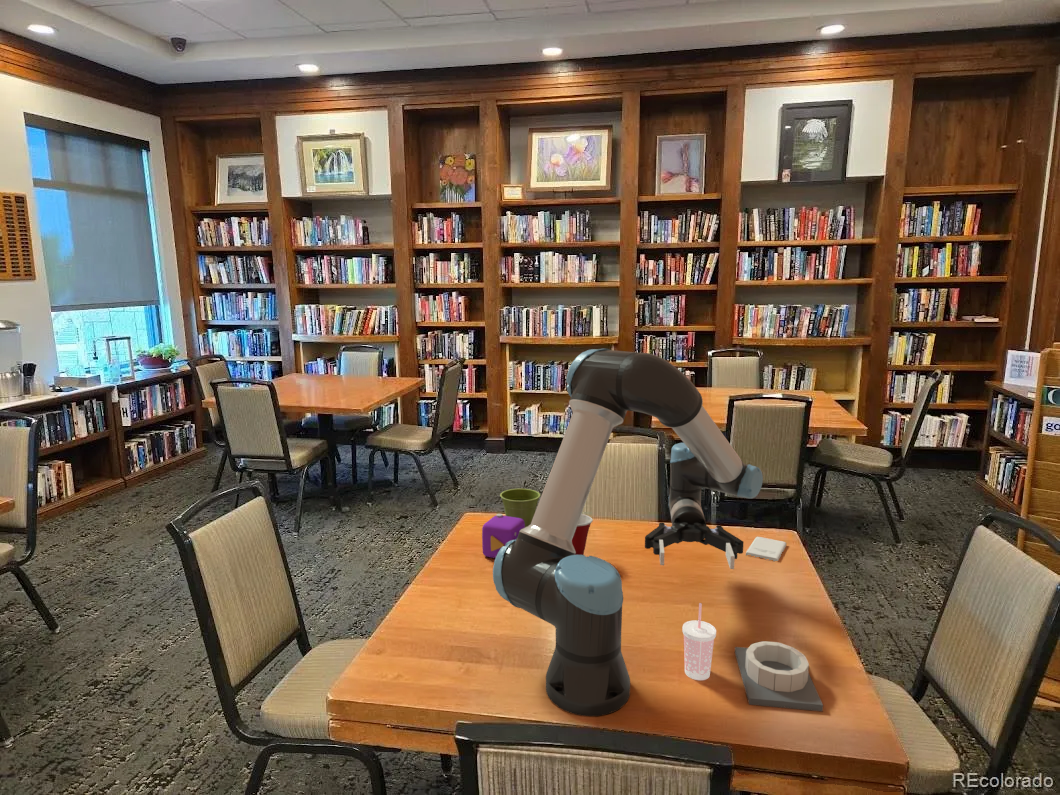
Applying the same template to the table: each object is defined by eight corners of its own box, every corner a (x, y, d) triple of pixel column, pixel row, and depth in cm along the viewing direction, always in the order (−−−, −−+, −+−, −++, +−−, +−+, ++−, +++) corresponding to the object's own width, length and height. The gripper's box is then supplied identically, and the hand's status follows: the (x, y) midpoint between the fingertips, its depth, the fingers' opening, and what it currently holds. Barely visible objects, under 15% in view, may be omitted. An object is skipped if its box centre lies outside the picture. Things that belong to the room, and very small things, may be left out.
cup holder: (749, 704, 110) (750, 680, 109) (734, 652, 125) (736, 631, 125) (822, 711, 108) (824, 687, 107) (798, 657, 124) (800, 636, 123)
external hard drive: (786, 547, 177) (777, 564, 166) (755, 541, 181) (745, 557, 170) (786, 542, 176) (777, 558, 166) (756, 536, 181) (745, 551, 170)
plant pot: (545, 536, 184) (544, 499, 182) (505, 540, 181) (504, 502, 179) (534, 521, 195) (534, 486, 193) (497, 525, 192) (496, 489, 190)
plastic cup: (599, 557, 170) (599, 514, 168) (580, 572, 161) (580, 527, 159) (564, 548, 175) (564, 506, 173) (543, 562, 166) (543, 519, 164)
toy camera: (530, 565, 165) (530, 528, 163) (479, 560, 168) (479, 525, 166) (538, 548, 176) (538, 514, 174) (490, 544, 178) (489, 510, 176)
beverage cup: (712, 664, 121) (715, 597, 119) (715, 684, 115) (719, 613, 113) (679, 661, 122) (682, 594, 120) (681, 681, 116) (684, 610, 114)
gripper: (743, 538, 146) (761, 582, 125) (633, 533, 150) (633, 574, 129) (744, 507, 144) (763, 546, 124) (633, 503, 148) (634, 540, 128)
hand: (697, 560), depth 126 cm, fingers open, 13 cm apart
